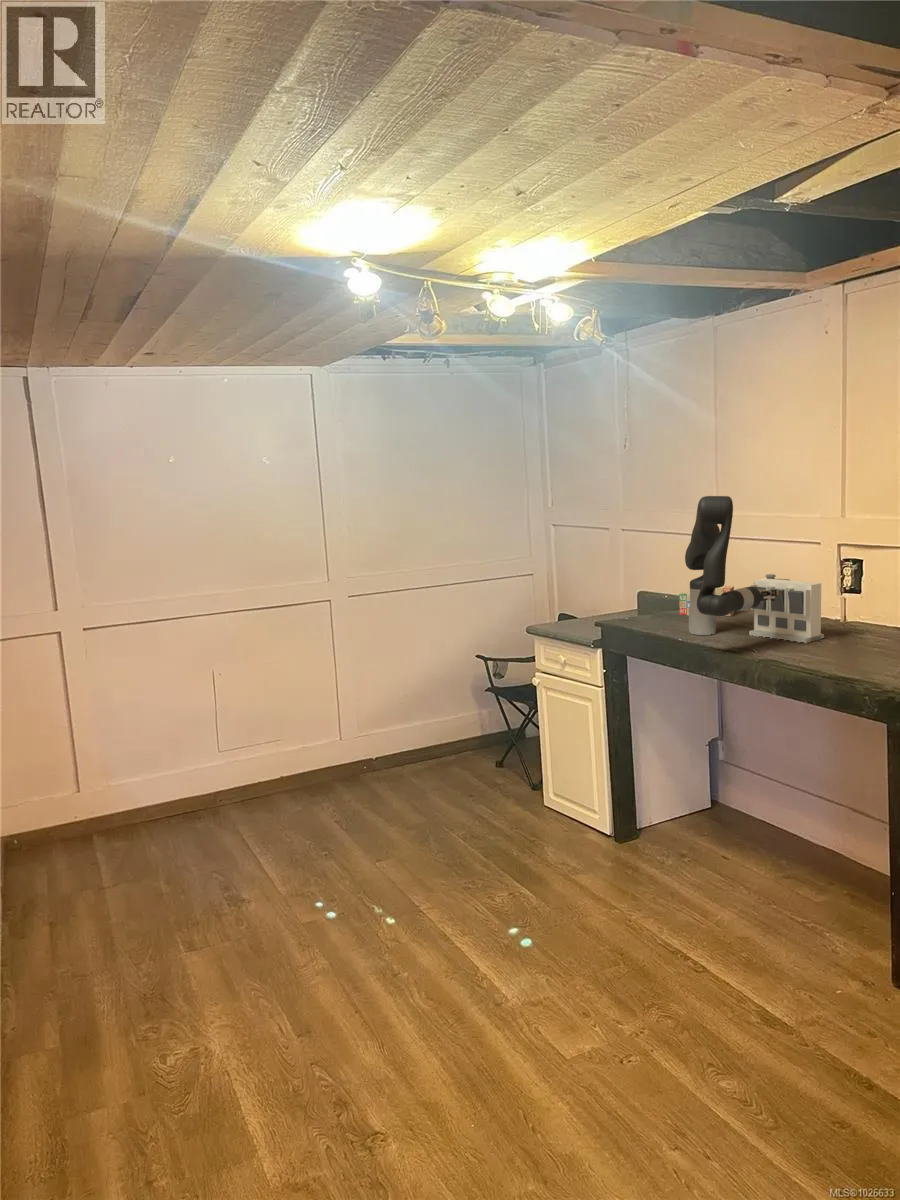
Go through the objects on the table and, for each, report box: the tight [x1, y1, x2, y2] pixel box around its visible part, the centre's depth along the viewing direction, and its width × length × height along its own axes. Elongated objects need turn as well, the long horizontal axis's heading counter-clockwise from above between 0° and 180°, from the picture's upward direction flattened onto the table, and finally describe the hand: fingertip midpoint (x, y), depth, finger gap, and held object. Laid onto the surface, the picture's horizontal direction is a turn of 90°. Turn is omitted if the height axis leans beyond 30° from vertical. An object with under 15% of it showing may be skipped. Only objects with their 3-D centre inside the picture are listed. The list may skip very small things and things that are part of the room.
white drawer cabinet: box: [748, 577, 825, 644], centre depth 323 cm, size 11×23×20 cm, turn 36°
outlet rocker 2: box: [788, 590, 804, 614], centre depth 313 cm, size 2×5×8 cm, turn 35°
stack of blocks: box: [678, 584, 735, 617], centre depth 375 cm, size 21×6×12 cm, turn 60°
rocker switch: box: [753, 587, 766, 610], centre depth 325 cm, size 2×5×8 cm, turn 36°
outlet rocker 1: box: [770, 588, 785, 612], centre depth 319 cm, size 2×5×8 cm, turn 35°
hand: (774, 592), depth 318 cm, fingers closed
